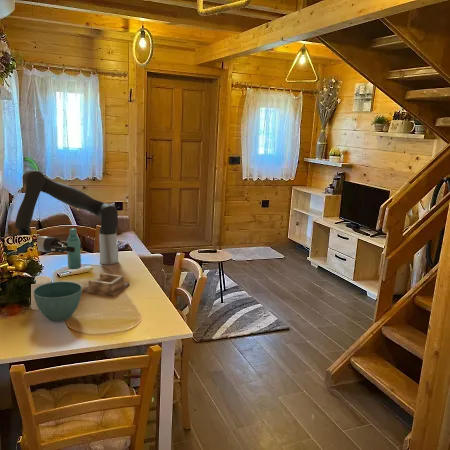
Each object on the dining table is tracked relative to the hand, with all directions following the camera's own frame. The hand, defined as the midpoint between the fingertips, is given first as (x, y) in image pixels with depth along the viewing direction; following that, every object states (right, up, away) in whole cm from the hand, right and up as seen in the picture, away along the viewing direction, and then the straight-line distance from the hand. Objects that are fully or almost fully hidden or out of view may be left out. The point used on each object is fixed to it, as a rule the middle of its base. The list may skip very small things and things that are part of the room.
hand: (78, 247), depth 218 cm
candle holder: (-9, -24, -22) cm, 34 cm away
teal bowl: (+3, -27, -32) cm, 42 cm away
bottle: (-3, -10, +3) cm, 10 cm away
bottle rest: (+13, -20, +1) cm, 24 cm away
